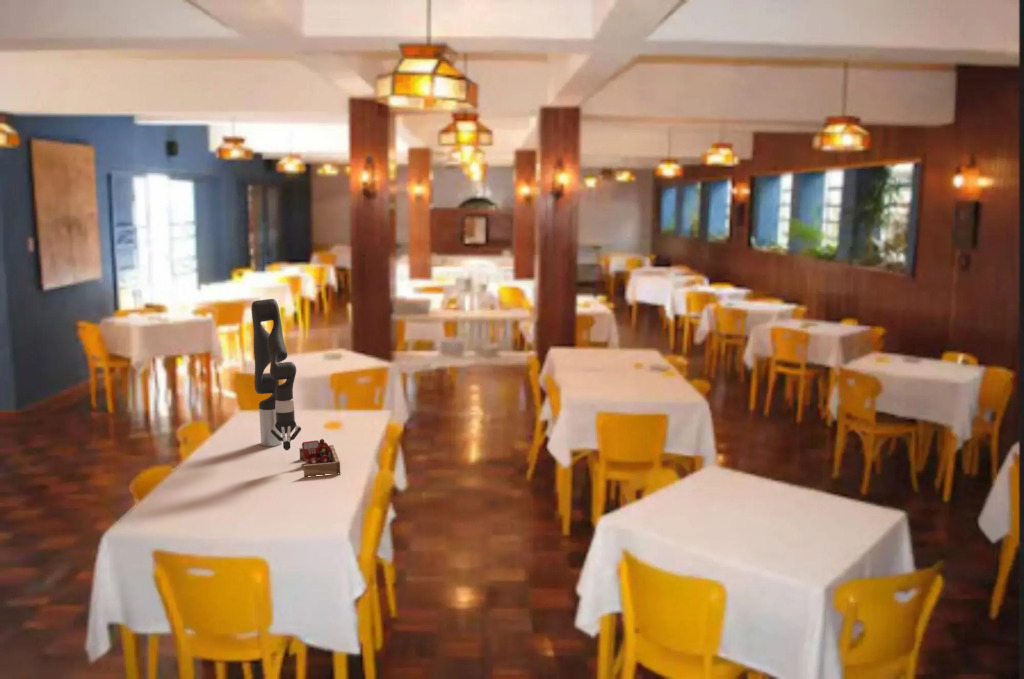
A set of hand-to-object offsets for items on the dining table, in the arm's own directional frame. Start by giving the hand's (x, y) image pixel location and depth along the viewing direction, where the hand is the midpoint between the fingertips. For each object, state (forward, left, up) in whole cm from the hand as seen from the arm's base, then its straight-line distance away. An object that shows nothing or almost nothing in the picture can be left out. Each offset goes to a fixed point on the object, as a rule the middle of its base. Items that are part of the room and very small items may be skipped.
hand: (286, 449), depth 380 cm
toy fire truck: (-5, +13, -9) cm, 16 cm away
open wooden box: (0, +13, -9) cm, 15 cm away
